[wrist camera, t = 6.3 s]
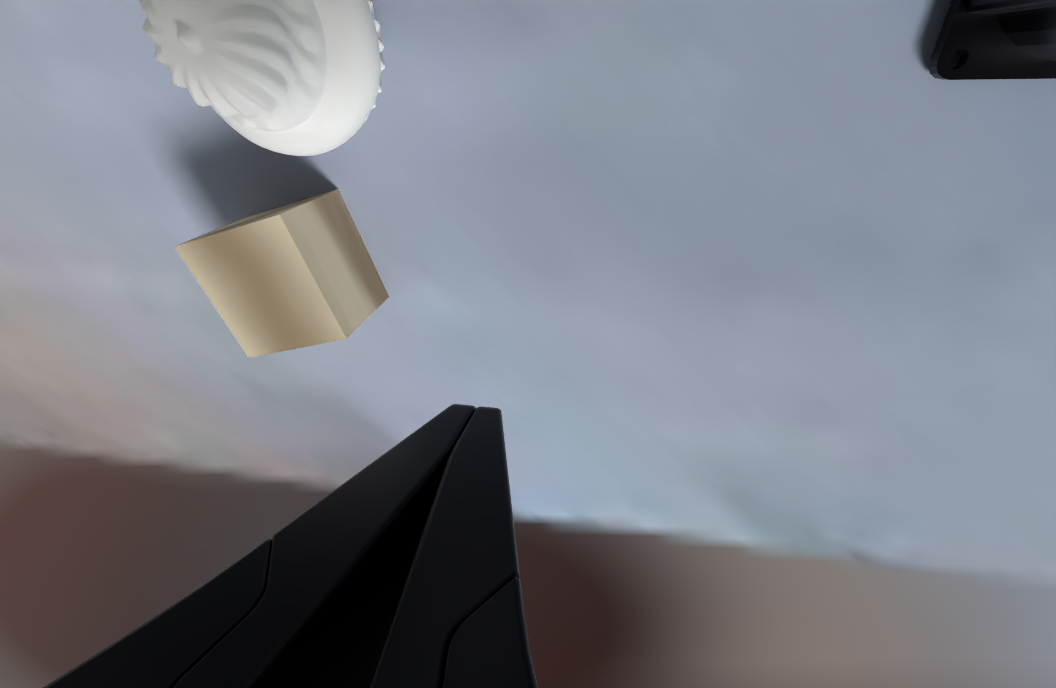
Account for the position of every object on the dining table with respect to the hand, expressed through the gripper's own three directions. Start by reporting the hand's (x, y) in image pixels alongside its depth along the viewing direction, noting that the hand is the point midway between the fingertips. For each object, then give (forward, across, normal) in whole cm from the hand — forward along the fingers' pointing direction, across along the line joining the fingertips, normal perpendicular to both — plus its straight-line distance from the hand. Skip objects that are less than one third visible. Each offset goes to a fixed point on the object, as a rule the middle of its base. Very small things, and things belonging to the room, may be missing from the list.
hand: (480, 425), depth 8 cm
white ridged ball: (+12, +8, -6) cm, 16 cm away
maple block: (+12, +11, +2) cm, 17 cm away
